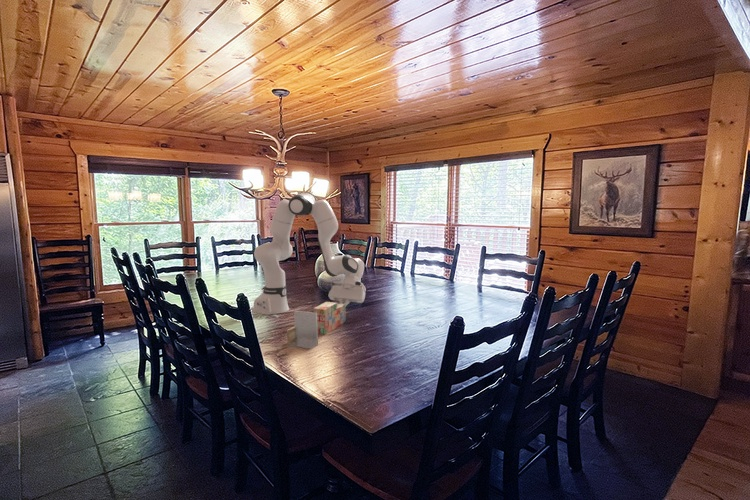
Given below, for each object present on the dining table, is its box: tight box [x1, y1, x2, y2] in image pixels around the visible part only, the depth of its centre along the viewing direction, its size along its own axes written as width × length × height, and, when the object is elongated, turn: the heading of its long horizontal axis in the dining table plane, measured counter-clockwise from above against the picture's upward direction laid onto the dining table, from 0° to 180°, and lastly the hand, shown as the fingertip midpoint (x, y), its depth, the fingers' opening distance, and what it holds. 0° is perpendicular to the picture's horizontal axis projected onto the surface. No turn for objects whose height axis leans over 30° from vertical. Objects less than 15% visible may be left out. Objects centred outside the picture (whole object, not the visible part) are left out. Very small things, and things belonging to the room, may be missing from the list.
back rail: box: [286, 325, 295, 344], centre depth 185 cm, size 2×32×6 cm, turn 157°
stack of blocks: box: [313, 301, 347, 335], centre depth 192 cm, size 21×6×12 cm, turn 158°
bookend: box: [288, 309, 319, 350], centre depth 168 cm, size 11×6×14 cm, turn 67°
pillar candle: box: [332, 278, 346, 304], centre depth 236 cm, size 10×10×15 cm
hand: (342, 307), depth 206 cm, fingers closed
